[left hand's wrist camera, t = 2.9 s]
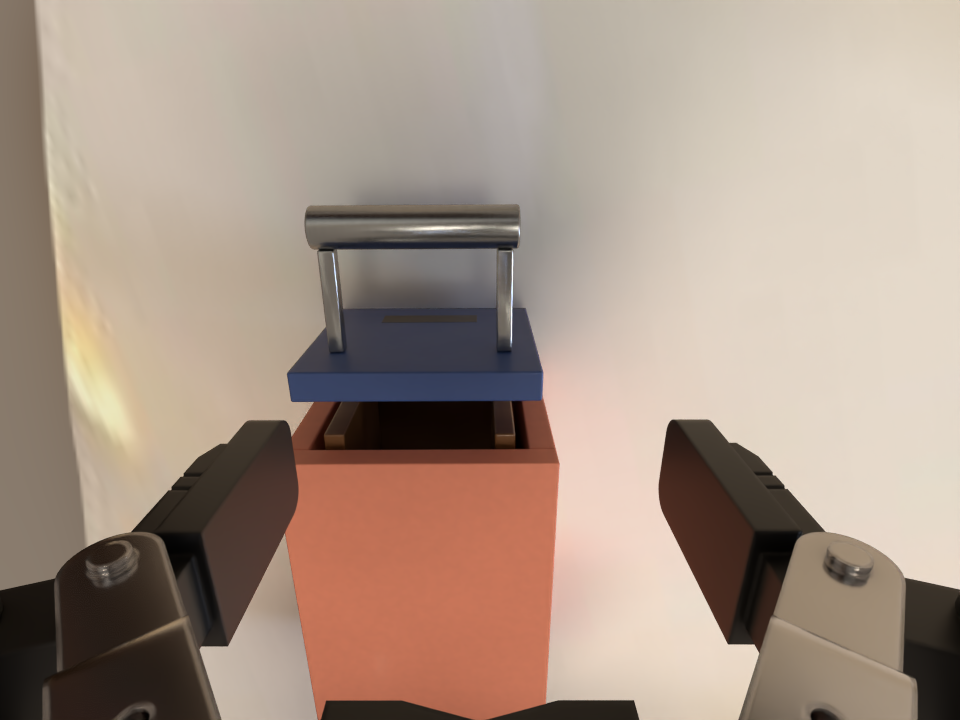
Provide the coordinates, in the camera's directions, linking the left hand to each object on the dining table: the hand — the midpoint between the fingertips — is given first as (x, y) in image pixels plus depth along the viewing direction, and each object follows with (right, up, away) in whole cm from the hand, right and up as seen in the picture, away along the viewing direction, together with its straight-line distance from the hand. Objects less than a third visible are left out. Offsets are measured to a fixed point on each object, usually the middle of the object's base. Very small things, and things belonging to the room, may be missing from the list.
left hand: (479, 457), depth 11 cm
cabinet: (-2, -7, +21) cm, 22 cm away
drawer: (-2, -1, +18) cm, 18 cm away
